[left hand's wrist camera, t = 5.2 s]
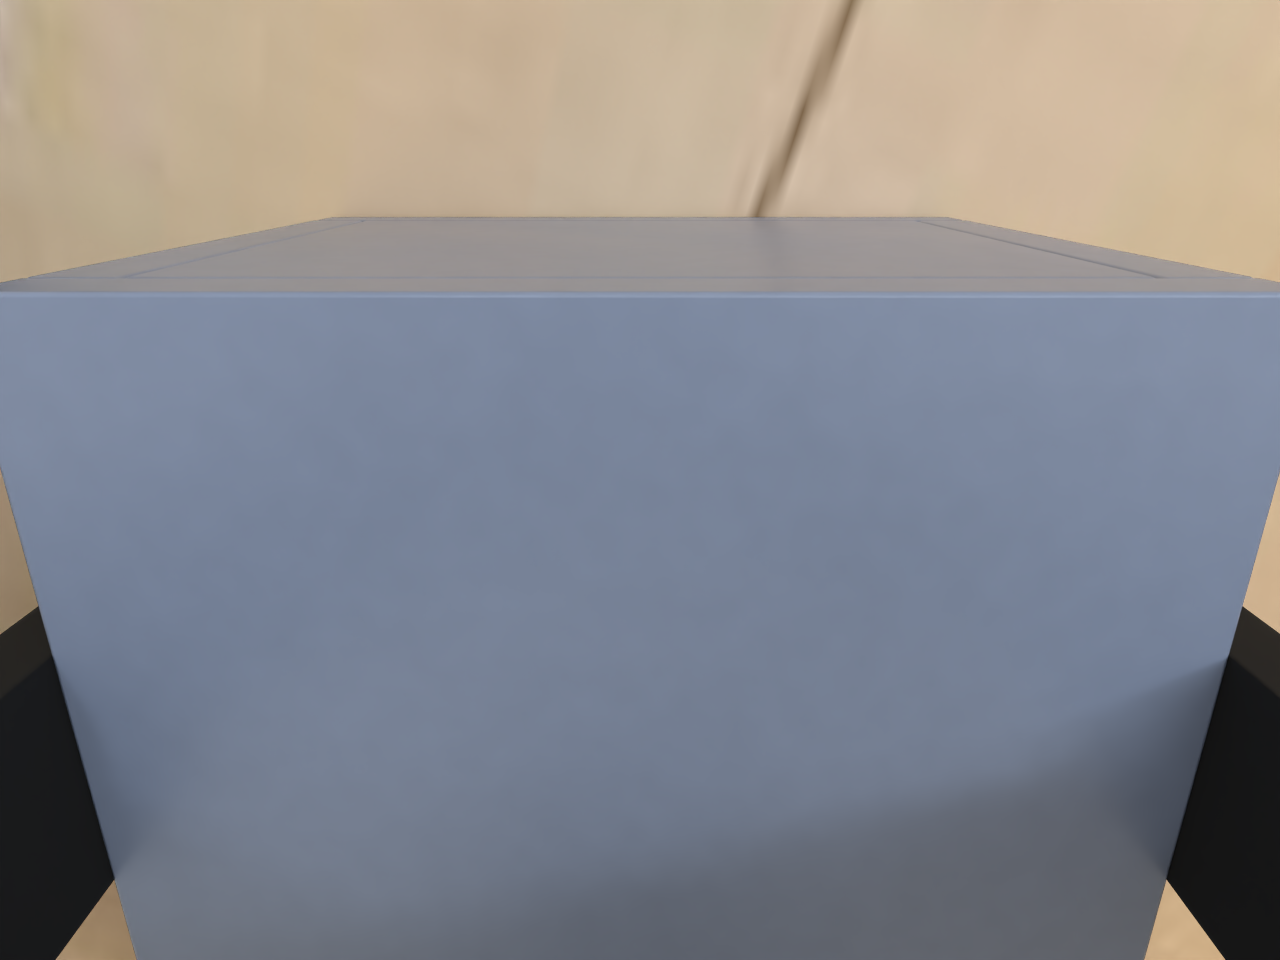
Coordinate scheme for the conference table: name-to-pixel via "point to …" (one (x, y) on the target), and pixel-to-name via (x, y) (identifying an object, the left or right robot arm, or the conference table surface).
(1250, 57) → the conference table surface
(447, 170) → the conference table surface
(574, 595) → the cabinet
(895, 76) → the conference table surface
